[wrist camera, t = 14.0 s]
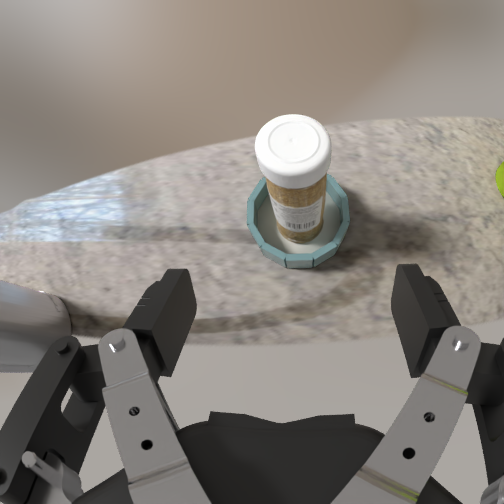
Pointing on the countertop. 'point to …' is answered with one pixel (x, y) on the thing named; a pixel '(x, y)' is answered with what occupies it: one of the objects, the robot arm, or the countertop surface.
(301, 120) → the sprinkles bottle
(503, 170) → the soap dispenser
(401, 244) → the countertop surface
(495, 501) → the robot arm
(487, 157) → the countertop surface
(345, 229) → the teal bowl
